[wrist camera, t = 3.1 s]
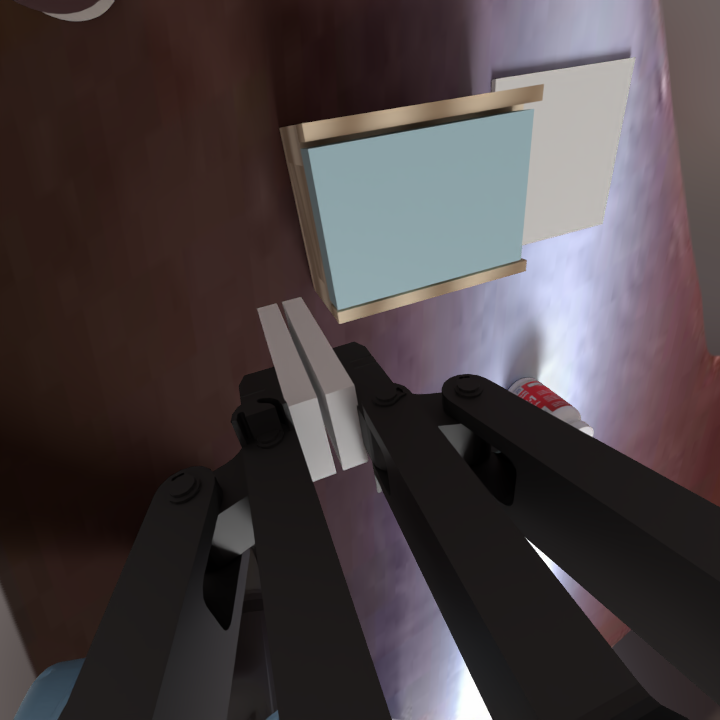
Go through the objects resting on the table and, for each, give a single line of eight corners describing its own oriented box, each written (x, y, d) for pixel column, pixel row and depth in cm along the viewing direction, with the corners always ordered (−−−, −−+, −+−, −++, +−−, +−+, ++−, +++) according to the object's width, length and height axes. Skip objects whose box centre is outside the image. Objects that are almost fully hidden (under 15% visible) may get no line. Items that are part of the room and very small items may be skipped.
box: (314, 289, 38) (339, 323, 31) (279, 128, 31) (301, 123, 23) (469, 248, 42) (525, 270, 35) (472, 96, 35) (544, 83, 27)
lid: (329, 299, 32) (338, 310, 30) (300, 148, 26) (307, 149, 24) (503, 253, 35) (520, 259, 33) (512, 110, 29) (534, 108, 27)
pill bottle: (509, 376, 54) (570, 423, 45) (542, 374, 57) (606, 419, 47) (496, 412, 57) (551, 463, 48) (528, 409, 59) (586, 457, 50)
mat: (485, 253, 43) (488, 254, 43) (491, 79, 35) (495, 79, 34) (598, 223, 46) (602, 223, 46) (629, 58, 38) (635, 57, 37)
